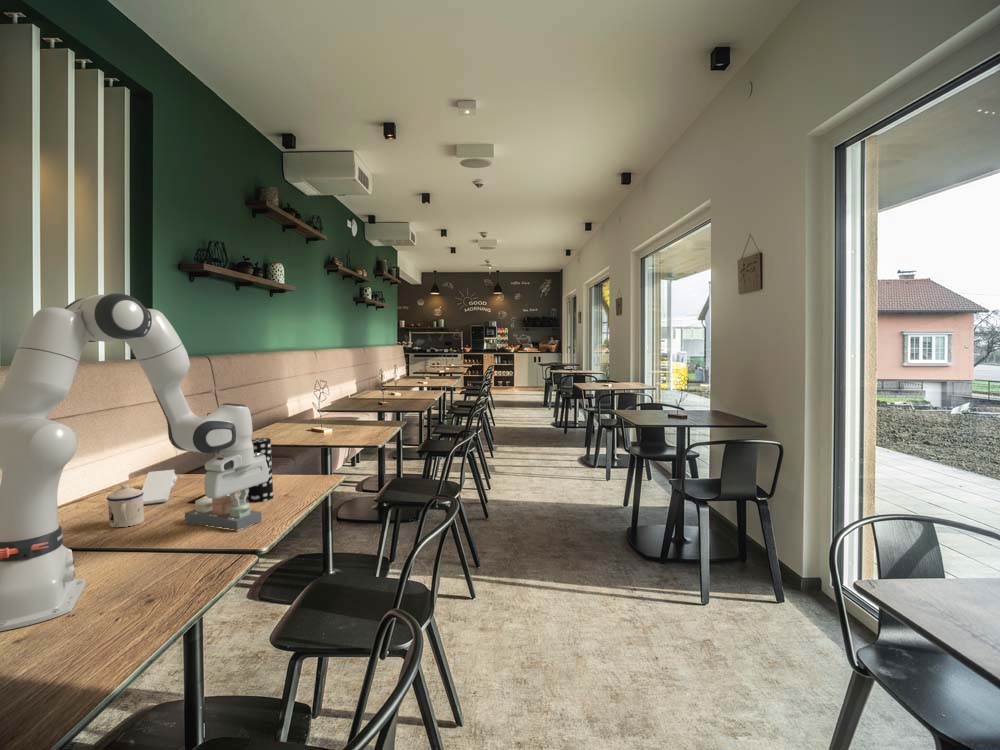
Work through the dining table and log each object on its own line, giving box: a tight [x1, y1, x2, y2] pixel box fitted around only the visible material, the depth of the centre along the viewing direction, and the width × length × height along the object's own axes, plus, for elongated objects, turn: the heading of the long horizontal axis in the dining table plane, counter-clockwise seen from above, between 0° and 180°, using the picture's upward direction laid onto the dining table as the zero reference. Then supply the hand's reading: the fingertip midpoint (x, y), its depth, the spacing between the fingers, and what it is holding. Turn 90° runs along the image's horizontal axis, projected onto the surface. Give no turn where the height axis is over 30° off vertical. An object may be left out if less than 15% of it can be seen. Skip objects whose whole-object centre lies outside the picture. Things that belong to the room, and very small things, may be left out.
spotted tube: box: [246, 437, 274, 503], centre depth 191 cm, size 8×8×20 cm
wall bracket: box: [141, 469, 178, 505], centre depth 199 cm, size 10×7×28 cm
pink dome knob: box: [212, 495, 233, 515], centre depth 168 cm, size 5×5×5 cm
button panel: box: [184, 508, 262, 530], centre depth 169 cm, size 21×9×3 cm, turn 67°
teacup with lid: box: [106, 483, 145, 528], centre depth 167 cm, size 12×9×12 cm
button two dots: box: [230, 502, 251, 518], centre depth 166 cm, size 5×5×5 cm
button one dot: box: [194, 497, 212, 513], centre depth 171 cm, size 5×5×5 cm
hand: (239, 505), depth 166 cm, fingers closed, pressing on button two dots
